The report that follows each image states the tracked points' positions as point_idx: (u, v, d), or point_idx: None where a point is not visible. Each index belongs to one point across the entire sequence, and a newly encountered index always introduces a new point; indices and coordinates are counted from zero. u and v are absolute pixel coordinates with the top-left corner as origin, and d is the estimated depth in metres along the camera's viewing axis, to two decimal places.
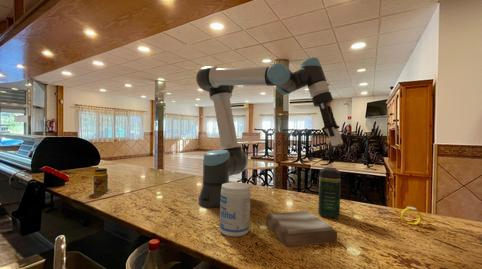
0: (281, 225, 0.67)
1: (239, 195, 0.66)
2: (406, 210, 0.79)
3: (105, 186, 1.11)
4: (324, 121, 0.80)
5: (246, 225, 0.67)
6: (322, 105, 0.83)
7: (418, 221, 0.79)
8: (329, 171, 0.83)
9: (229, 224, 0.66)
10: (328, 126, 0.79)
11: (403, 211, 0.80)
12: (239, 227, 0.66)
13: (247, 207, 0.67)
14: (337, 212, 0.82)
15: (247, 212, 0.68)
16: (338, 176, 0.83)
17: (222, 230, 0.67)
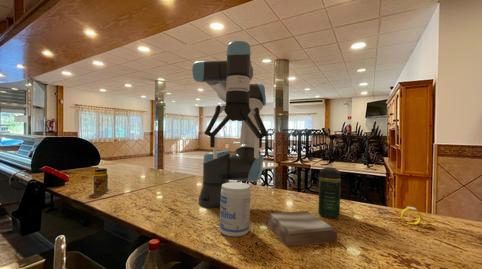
0: (281, 225, 0.67)
1: (239, 195, 0.66)
2: (406, 210, 0.79)
3: (105, 186, 1.11)
4: None
5: (246, 225, 0.67)
6: (216, 108, 0.68)
7: (418, 221, 0.79)
8: (329, 171, 0.83)
9: (229, 224, 0.66)
10: None
11: (403, 211, 0.80)
12: (239, 227, 0.66)
13: (247, 207, 0.67)
14: (337, 212, 0.82)
15: (247, 212, 0.67)
16: (338, 176, 0.83)
17: (222, 230, 0.67)
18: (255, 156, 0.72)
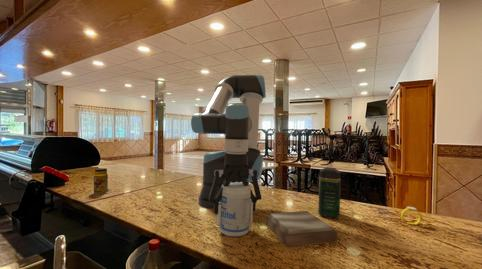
0: (281, 225, 0.67)
1: (239, 195, 0.66)
2: (406, 210, 0.79)
3: (105, 186, 1.11)
4: (209, 194, 0.69)
5: (246, 225, 0.67)
6: (214, 173, 0.68)
7: (418, 221, 0.79)
8: (329, 171, 0.83)
9: (229, 224, 0.66)
10: None
11: (403, 211, 0.80)
12: (239, 227, 0.66)
13: (247, 207, 0.67)
14: (337, 212, 0.82)
15: (247, 212, 0.67)
16: (338, 176, 0.83)
17: (222, 230, 0.67)
18: None
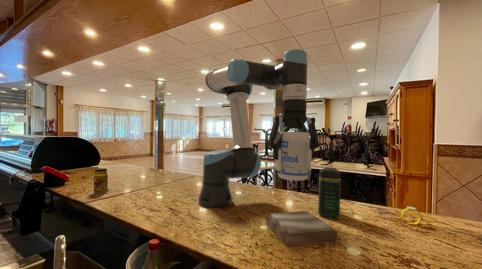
0: (281, 225, 0.67)
1: (301, 138, 0.65)
2: (406, 210, 0.79)
3: (105, 186, 1.11)
4: None
5: (307, 170, 0.67)
6: (274, 119, 0.68)
7: (418, 221, 0.79)
8: (329, 171, 0.83)
9: (291, 168, 0.65)
10: (271, 147, 0.68)
11: (403, 211, 0.80)
12: (301, 170, 0.65)
13: (308, 152, 0.67)
14: (337, 212, 0.82)
15: (308, 157, 0.67)
16: (338, 176, 0.83)
17: (283, 175, 0.67)
18: None
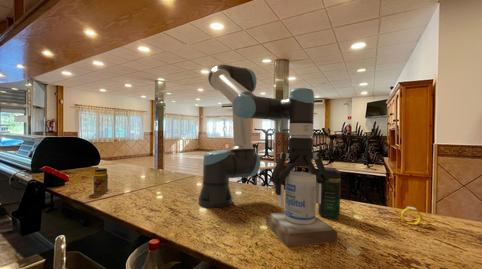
0: (281, 225, 0.67)
1: (308, 183, 0.66)
2: (406, 210, 0.79)
3: (105, 186, 1.11)
4: (272, 175, 0.69)
5: (314, 213, 0.68)
6: (280, 155, 0.69)
7: (418, 221, 0.79)
8: (329, 171, 0.83)
9: (298, 212, 0.66)
10: None
11: (403, 211, 0.80)
12: (308, 215, 0.66)
13: (315, 195, 0.68)
14: (337, 212, 0.82)
15: (315, 200, 0.68)
16: (338, 176, 0.83)
17: (290, 218, 0.67)
18: (316, 201, 0.72)
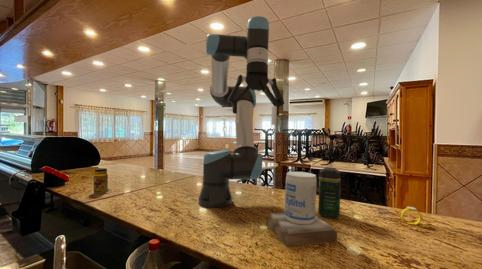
0: (281, 225, 0.67)
1: (308, 183, 0.66)
2: (406, 210, 0.79)
3: (105, 186, 1.11)
4: (229, 96, 0.75)
5: (314, 213, 0.68)
6: (238, 78, 0.75)
7: (418, 221, 0.79)
8: (329, 171, 0.83)
9: (298, 212, 0.66)
10: (230, 102, 0.75)
11: (403, 211, 0.80)
12: (309, 215, 0.66)
13: (315, 195, 0.68)
14: (337, 212, 0.82)
15: (315, 200, 0.68)
16: (338, 176, 0.83)
17: (290, 218, 0.67)
18: (273, 123, 0.79)
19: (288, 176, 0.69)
